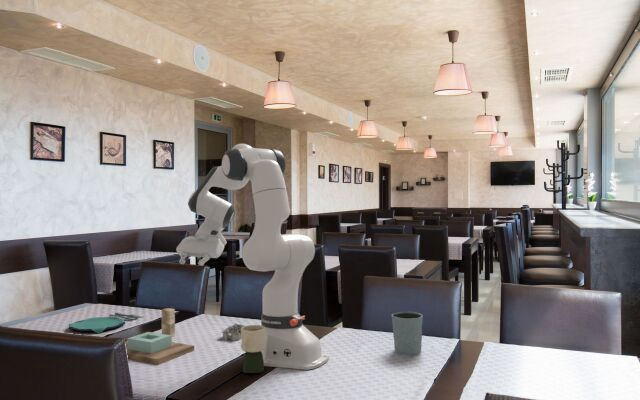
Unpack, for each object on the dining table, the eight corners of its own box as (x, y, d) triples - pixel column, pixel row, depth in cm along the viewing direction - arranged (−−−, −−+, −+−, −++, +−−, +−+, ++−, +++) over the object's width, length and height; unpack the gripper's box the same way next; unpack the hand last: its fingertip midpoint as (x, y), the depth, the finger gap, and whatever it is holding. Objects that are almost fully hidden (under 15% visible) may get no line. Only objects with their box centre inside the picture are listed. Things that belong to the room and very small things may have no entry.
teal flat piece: (57, 331, 198) (57, 325, 198) (113, 315, 227) (113, 310, 227) (98, 336, 192) (98, 330, 192) (151, 319, 220) (151, 314, 220)
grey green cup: (422, 356, 165) (422, 319, 164) (390, 355, 167) (390, 317, 166) (422, 347, 175) (422, 311, 174) (392, 345, 177) (392, 310, 176)
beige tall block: (174, 336, 191) (174, 309, 190) (170, 337, 188) (169, 310, 188) (166, 334, 192) (166, 308, 192) (161, 336, 190) (161, 309, 190)
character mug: (252, 364, 158) (252, 322, 158) (273, 367, 155) (272, 324, 155) (232, 376, 148) (232, 331, 148) (254, 380, 145) (254, 333, 145)
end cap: (171, 345, 173) (171, 335, 173) (151, 353, 165) (151, 342, 165) (148, 341, 178) (148, 331, 178) (127, 349, 170) (127, 338, 170)
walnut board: (194, 350, 173) (194, 345, 173) (159, 364, 159) (159, 359, 159) (141, 341, 184) (141, 337, 184) (104, 353, 170) (104, 349, 170)
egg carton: (236, 342, 184) (236, 330, 183) (219, 339, 187) (219, 328, 186) (252, 334, 193) (252, 323, 193) (235, 332, 196) (235, 321, 196)
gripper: (183, 230, 212) (166, 257, 204) (223, 232, 203) (207, 260, 194) (190, 240, 216) (174, 267, 208) (230, 242, 207) (214, 270, 198)
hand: (190, 263), depth 201 cm, fingers open, 8 cm apart
